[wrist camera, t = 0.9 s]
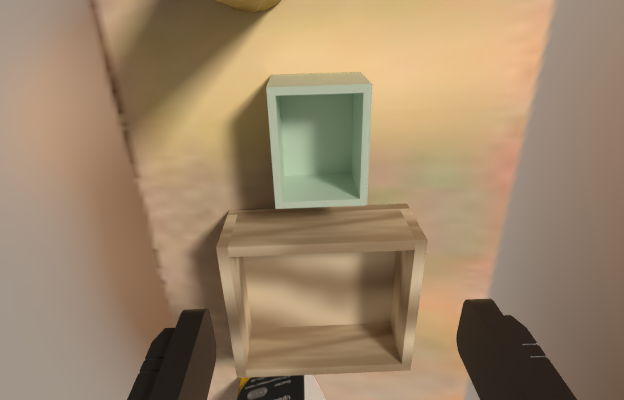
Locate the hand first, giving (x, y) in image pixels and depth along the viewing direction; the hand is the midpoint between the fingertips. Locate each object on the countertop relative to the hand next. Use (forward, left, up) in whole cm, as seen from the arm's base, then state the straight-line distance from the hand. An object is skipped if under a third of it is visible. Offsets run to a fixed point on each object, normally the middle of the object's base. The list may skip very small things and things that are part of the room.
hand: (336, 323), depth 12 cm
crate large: (+12, 0, -19) cm, 22 cm away
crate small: (-1, 0, -19) cm, 19 cm away
